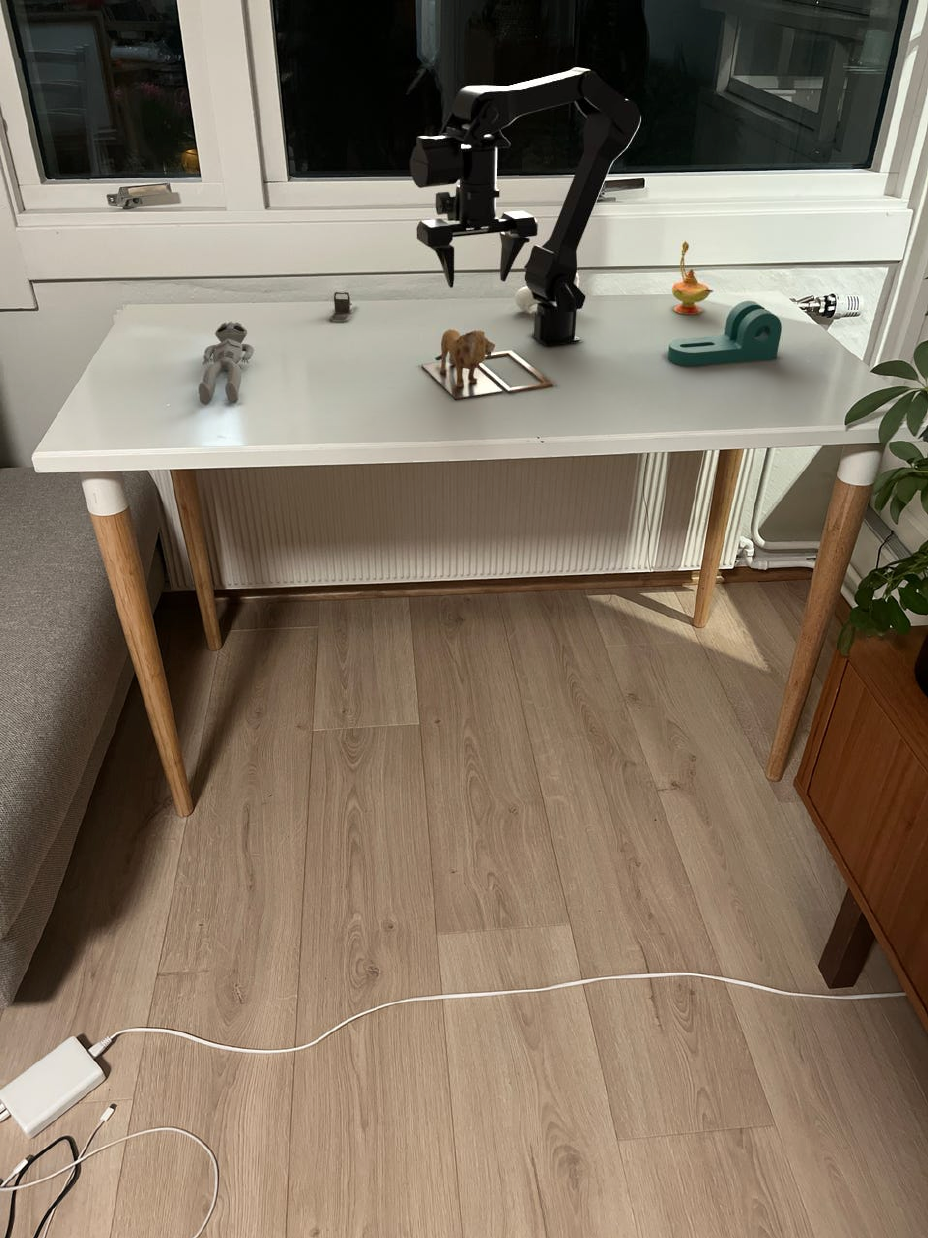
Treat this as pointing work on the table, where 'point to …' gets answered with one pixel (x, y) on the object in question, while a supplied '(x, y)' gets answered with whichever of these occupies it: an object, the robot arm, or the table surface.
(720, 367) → the table surface
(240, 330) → the alien figure
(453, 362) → the lion figurine
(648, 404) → the table surface
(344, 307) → the strap clip
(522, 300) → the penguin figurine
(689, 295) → the magic lamp
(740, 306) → the bracket
